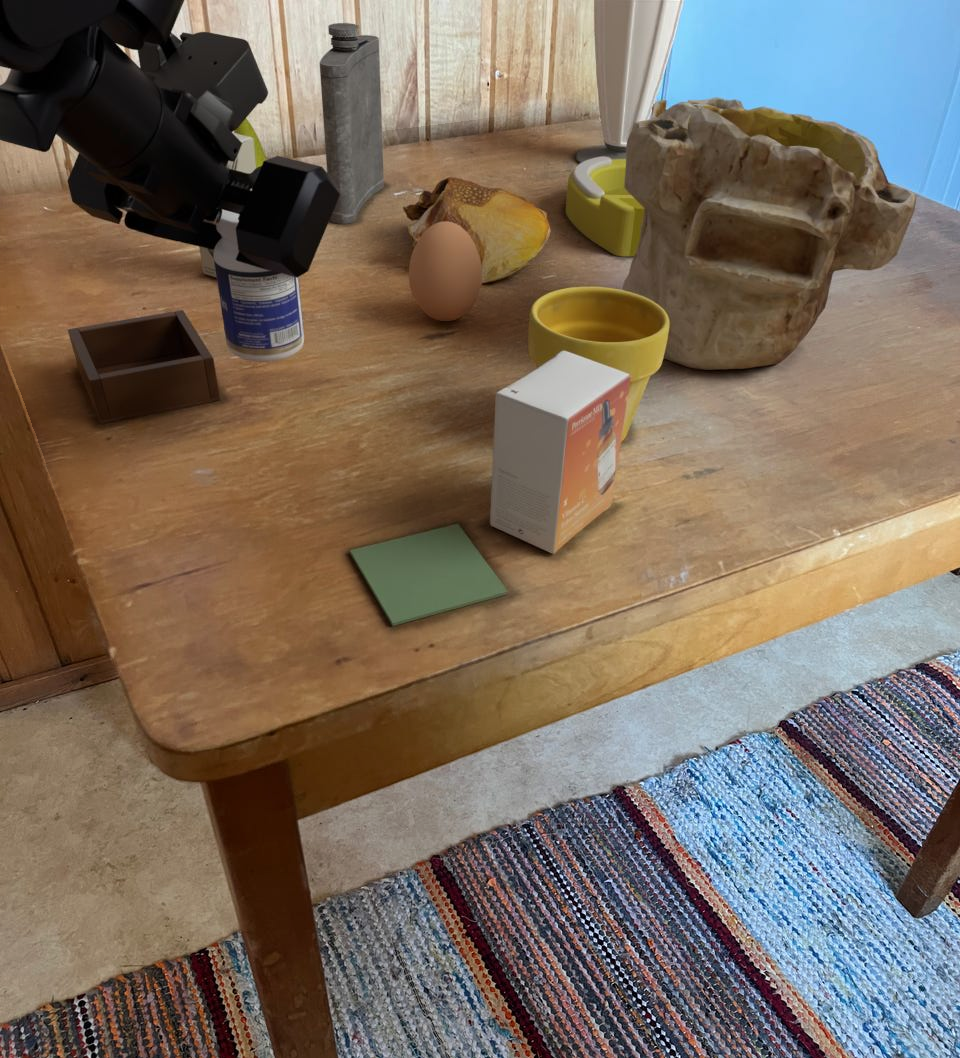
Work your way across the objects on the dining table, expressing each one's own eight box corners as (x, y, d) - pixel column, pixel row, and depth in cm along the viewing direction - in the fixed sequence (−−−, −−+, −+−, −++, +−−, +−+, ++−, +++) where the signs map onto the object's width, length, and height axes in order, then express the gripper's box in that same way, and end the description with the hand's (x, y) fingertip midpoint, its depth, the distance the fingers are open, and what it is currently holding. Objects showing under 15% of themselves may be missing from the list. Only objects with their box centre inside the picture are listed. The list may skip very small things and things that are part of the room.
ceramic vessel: (895, 207, 95) (980, 1, 71) (835, 438, 93) (902, 306, 68) (666, 170, 100) (672, -35, 76) (602, 389, 97) (587, 249, 73)
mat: (392, 626, 61) (392, 622, 61) (350, 553, 66) (349, 550, 66) (507, 594, 64) (507, 591, 64) (457, 526, 69) (458, 523, 69)
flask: (320, 221, 111) (306, 38, 98) (358, 180, 121) (349, 10, 109) (351, 225, 110) (341, 41, 98) (386, 183, 120) (381, 12, 108)
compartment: (101, 424, 78) (89, 380, 75) (78, 371, 84) (67, 328, 81) (220, 400, 81) (213, 357, 78) (190, 350, 87) (183, 309, 85)
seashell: (566, 195, 107) (542, 219, 95) (550, 265, 111) (525, 298, 99) (421, 158, 108) (379, 177, 96) (411, 229, 112) (369, 256, 100)
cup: (607, 179, 124) (630, -25, 109) (559, 153, 131) (574, -42, 117) (680, 167, 128) (711, -30, 114) (629, 142, 136) (652, -46, 121)
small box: (553, 557, 67) (566, 420, 60) (487, 526, 69) (492, 391, 62) (614, 505, 72) (634, 372, 64) (551, 477, 74) (563, 347, 67)
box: (201, 275, 99) (178, 137, 90) (229, 260, 102) (209, 125, 93) (243, 286, 97) (224, 147, 88) (270, 271, 100) (254, 135, 91)
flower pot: (584, 384, 85) (597, 272, 78) (676, 433, 79) (699, 318, 72) (496, 423, 80) (501, 307, 73) (587, 478, 74) (603, 358, 67)
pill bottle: (234, 329, 75) (215, 193, 68) (309, 331, 75) (297, 195, 69) (220, 363, 71) (199, 222, 64) (300, 366, 71) (286, 225, 64)
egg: (444, 341, 90) (445, 243, 84) (394, 317, 93) (392, 221, 87) (495, 319, 94) (499, 224, 87) (445, 297, 97) (446, 203, 91)
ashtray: (582, 256, 105) (586, 208, 102) (557, 190, 121) (560, 146, 117) (731, 256, 107) (741, 209, 103) (688, 191, 122) (695, 147, 118)
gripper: (307, 10, 52) (423, 178, 66) (58, -33, 58) (213, 128, 73) (225, 206, 52) (359, 330, 66) (-13, 141, 59) (156, 266, 73)
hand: (269, 257), depth 70 cm, fingers closed on pill bottle, 6 cm apart
